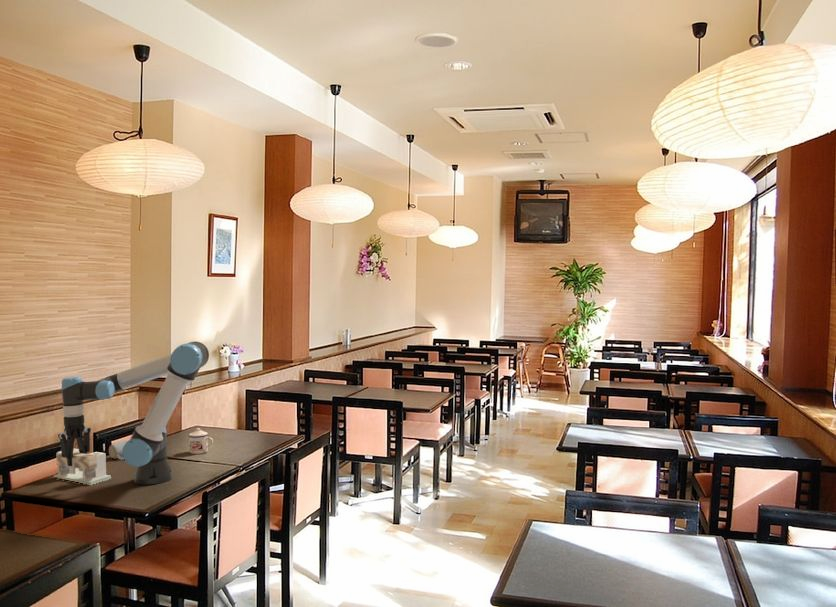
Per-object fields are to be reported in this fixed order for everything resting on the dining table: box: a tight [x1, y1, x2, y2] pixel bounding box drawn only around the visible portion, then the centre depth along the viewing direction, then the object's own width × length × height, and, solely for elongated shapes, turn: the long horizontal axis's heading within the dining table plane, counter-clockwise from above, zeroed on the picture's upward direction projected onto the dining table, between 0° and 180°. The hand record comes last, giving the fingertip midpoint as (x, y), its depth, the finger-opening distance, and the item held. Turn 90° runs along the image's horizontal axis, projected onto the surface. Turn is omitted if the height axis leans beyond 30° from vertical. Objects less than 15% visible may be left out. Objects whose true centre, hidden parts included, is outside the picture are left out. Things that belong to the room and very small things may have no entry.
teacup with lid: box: [188, 427, 214, 455], centre depth 344 cm, size 12×9×12 cm
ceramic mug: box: [108, 440, 128, 461], centre depth 335 cm, size 11×8×8 cm
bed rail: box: [55, 451, 97, 479], centre depth 283 cm, size 20×4×9 cm, turn 62°
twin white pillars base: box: [53, 447, 112, 486], centre depth 301 cm, size 24×10×12 cm, turn 62°
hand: (77, 472), depth 283 cm, fingers closed on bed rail, 3 cm apart
